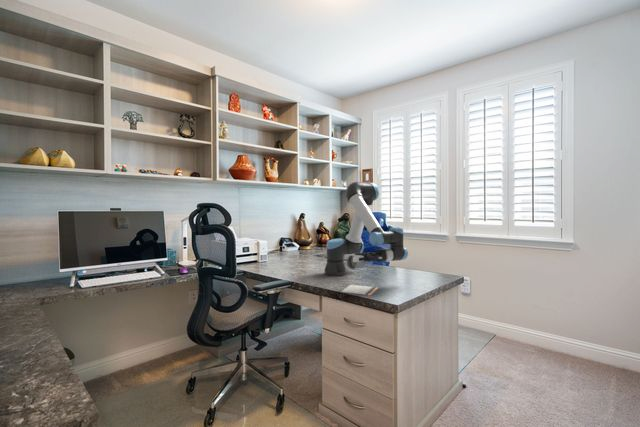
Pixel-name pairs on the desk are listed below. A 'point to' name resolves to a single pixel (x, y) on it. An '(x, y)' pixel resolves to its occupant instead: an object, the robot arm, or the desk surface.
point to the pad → (357, 289)
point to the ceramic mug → (354, 264)
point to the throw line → (373, 291)
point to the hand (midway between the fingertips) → (349, 258)
